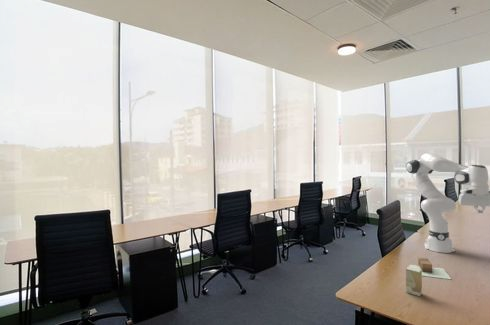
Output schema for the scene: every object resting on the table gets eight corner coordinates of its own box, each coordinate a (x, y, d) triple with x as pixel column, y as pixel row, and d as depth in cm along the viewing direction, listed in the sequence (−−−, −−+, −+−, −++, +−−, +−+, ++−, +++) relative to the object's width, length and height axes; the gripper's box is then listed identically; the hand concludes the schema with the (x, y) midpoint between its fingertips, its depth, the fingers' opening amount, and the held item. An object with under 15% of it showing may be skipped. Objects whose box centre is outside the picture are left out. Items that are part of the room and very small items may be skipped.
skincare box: (405, 292, 133) (405, 268, 133) (408, 289, 136) (407, 266, 136) (420, 296, 128) (419, 271, 128) (422, 293, 131) (421, 269, 131)
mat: (409, 265, 168) (409, 264, 168) (443, 269, 161) (443, 268, 161) (413, 274, 153) (413, 274, 153) (451, 279, 146) (451, 279, 146)
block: (418, 257, 166) (422, 263, 156) (427, 258, 164) (432, 264, 154) (418, 265, 166) (422, 271, 156) (427, 266, 164) (432, 273, 154)
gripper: (498, 190, 160) (499, 213, 160) (457, 190, 169) (457, 211, 168) (503, 191, 155) (504, 214, 154) (460, 191, 163) (461, 213, 163)
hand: (479, 213), depth 161 cm, fingers closed
